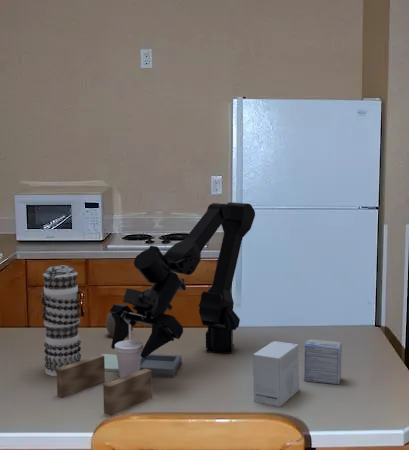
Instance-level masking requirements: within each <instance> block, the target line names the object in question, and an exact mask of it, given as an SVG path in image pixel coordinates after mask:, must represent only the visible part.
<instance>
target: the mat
mask: <svg viewBox="0 0 409 450" xmlns="http://www.w3.org/2000/svg"><path fill="white" fill-rule="evenodd" d="M100 355H103V356H104V365H105V372H118V373H119V367H118V360H117V354H109V353H101V354H100Z"/></svg>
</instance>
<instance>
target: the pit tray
mask: <svg viewBox="0 0 409 450" xmlns="http://www.w3.org/2000/svg"><path fill="white" fill-rule="evenodd" d="M182 357H183V356H182V355H179V354H161V353H151V354H149V355H148V356H146V357H145V358H142V357H141V363H140V370H143V369H145V368H146V369H149V370H152V378H154V377H155V378H174V377H175V376H176V374H177V372H178V371H179V369H180V367H181V365H182V360H183V359H182Z"/></svg>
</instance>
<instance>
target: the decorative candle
mask: <svg viewBox="0 0 409 450" xmlns="http://www.w3.org/2000/svg"><path fill="white" fill-rule="evenodd" d="M78 274H79V272H78V271H76V270H75V269H74V267H73V266H71V265H64V264H63V265H62V264H61V265H53V266H50V267H48V268H47V269H46V270H45V272H44V273H42V276H43V282H44V283H43V284H44V286H43V290H42V291H41V293H40V297H41V304H42V306H43V307H41V308H42V310H41V312H42V319H43V325H44V326H45V336H44V337H45V341H44V344H43V346H44V347H45V349H44V353H45V354H46V355H45V356H44V359H43V360H44V361H45V363H44V368H45V374H46V375H48V376H51V377H57V371H56V369H57V368H60V367H63V366H66V365H69V364H72V363H75V362H77V361H80V360H82V359H81V358H82V354H81V353H80V352H81V346H80V345H81V342H82V341H81V340H80V333H79V323H81V319H80V317H81V313H79V311H78V310H80V309H81V304H79V303H81V298H79V297H77V296H78V295H80V294H81V293H82V291H81V290H80V289H79V288H78V287H79V285H78V284H77V283H78V282H77V280H78V278H77V275H78Z"/></svg>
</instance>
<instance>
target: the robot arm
mask: <svg viewBox="0 0 409 450" xmlns="http://www.w3.org/2000/svg"><path fill="white" fill-rule="evenodd" d="M255 217H256V211H255V209H254V207H253V206H252V204H250V203H246V202H245V203H243V202H230V201H229V202H227V203H221V202H220V203H218V202H212V203H210V204H209V205H208V206H207V209H206V211H205V212H204V214H203V215H202V216H201V218H200V219H199V220H198V222H197V223H196V224H195V225H194V226H193V228H192V230H191V231H190V232H189V233H188V234H187V236H186V237H185V238H184V239H182V240H181V241H179V242H176V243H175V244H173V245H172V246H171V247H170V248H168V250H167V251H166V252H165V253H164V254H163V253H162V252H161V250H160V248H159V247H158V246H157V245H149V247H148V249H144V250H143V251H142V252H140V253H139V254H137V255H136V257H135V258H134V259H133V260H134V261H133V266H134V267H135V268H136V269H137V271H138V272H139V273H140V274H141V275H142V277H143V278H144V279H145V280H146V281H147V282H148V283H150V284H152V285H151V287H150V289H149V288H146V289H144V290H143V291H142V290H137V289H132V288H128V287H127V288H126V289H125V293H124V296H123V299H122V303H124V304H121V303H115V304H113V305H112V306H111V307H110V310H109V311H108V313H111V314H112V317H113V319H114V320H115V331H114V336H113V337H112V342H111V346H110V347H111V349H112V350H114V351H115V349H114V348H115V344H116V343H117V342H120V341H125V340H126V339H127V337H129V324H131V332H133V330H134V328H132V327H134V326H136V324H137V323H139V324H142V325H143V324H144V325H147V326H151V333H150V336H149V337H148V339H147V341H146V343H145V344H144V345H143V350H142V353H141V357H142V358H145V357H146V356H148V355H149V354H153V353H154V352H155V351H156V350H157V349H159V348H161V347H163V346H164V345H166V344H168V343H169V342H174V340H175V339H177V340H180V339H181V337H182V335H183V334H184V326H183V325H182V324H181V323H180V321H178V319H177V318H176V317H175V316H174V315H171V314H166V312H167V311H171V310H172V308H173V306H172V305H171V302H172V301H173V299H174V297H175V295H176V294H177V292H178V291H179V290H180V291H186V289H187V287H186V283H185V279H184V278H180V276H179V275H178V274H180V275H185V276H189V275H192V274H194V273H195V270H196V269H197V267H198V265H199V263H200V262H201V259H202V251H203V249H204V248H205V247H206V245H207V244H208V242H209V241H210V240H211V239H212V237H213V236H214V235H215V233H216V232H217V231H218V229H219V228H220V227H222V230H223V237H222V241H221V246H220V250H219V254H218V258H217V263H216V268H215V270H214V275H213V281H212V284H211V287H210V288H209V289H208V290H207V291H202V292H201V295H200V296H201V297H200V301H199V304H198V313H199V317H200V320H201V325H202V326H205V327H207V330H206V331H205V348H206V352H207V353H218V354H219V353H220V354H231V353H232V352H233V350H234V347H235V344H234V331H236V330H237V328H239V325H240V322H241V320H240V319H241V318H240V317H239V316H238V315H237V313H236V312H235V311H234V306H235V305H234V303H235V301H234V298H233V296H232V292H231V291H232V290H231V289H232V285H233V281H234V277H235V273H236V268H237V264H238V259H239V254H240V251H241V250H240V249H241V247H242V241H243V238H244V237H245V236H246V235H247V234H248V233H249V231H250V230H251V229H252V226H253V223H254V221H255ZM125 303H127V304H129V305H132V306H131V307H132V309H133V310H134V311H136V312H134V311H133V310H132V309H131V307H129V305H126V304H125Z"/></svg>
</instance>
